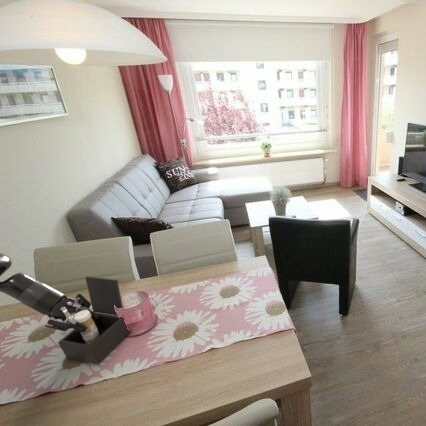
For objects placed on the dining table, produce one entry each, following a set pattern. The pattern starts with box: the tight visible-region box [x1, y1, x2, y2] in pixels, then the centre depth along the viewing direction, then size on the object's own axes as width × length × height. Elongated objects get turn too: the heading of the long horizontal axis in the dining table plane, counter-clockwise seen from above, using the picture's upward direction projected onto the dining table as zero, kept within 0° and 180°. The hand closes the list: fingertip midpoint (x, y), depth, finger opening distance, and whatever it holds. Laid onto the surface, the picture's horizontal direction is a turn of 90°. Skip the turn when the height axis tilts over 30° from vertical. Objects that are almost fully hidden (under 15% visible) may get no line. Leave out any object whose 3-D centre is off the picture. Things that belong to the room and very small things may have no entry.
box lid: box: [85, 275, 124, 317], centre depth 107 cm, size 14×13×1 cm
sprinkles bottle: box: [72, 310, 100, 345], centre depth 101 cm, size 5×5×14 cm
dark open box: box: [57, 312, 131, 365], centre depth 105 cm, size 14×13×8 cm
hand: (91, 323), depth 101 cm, fingers closed on sprinkles bottle, 4 cm apart
